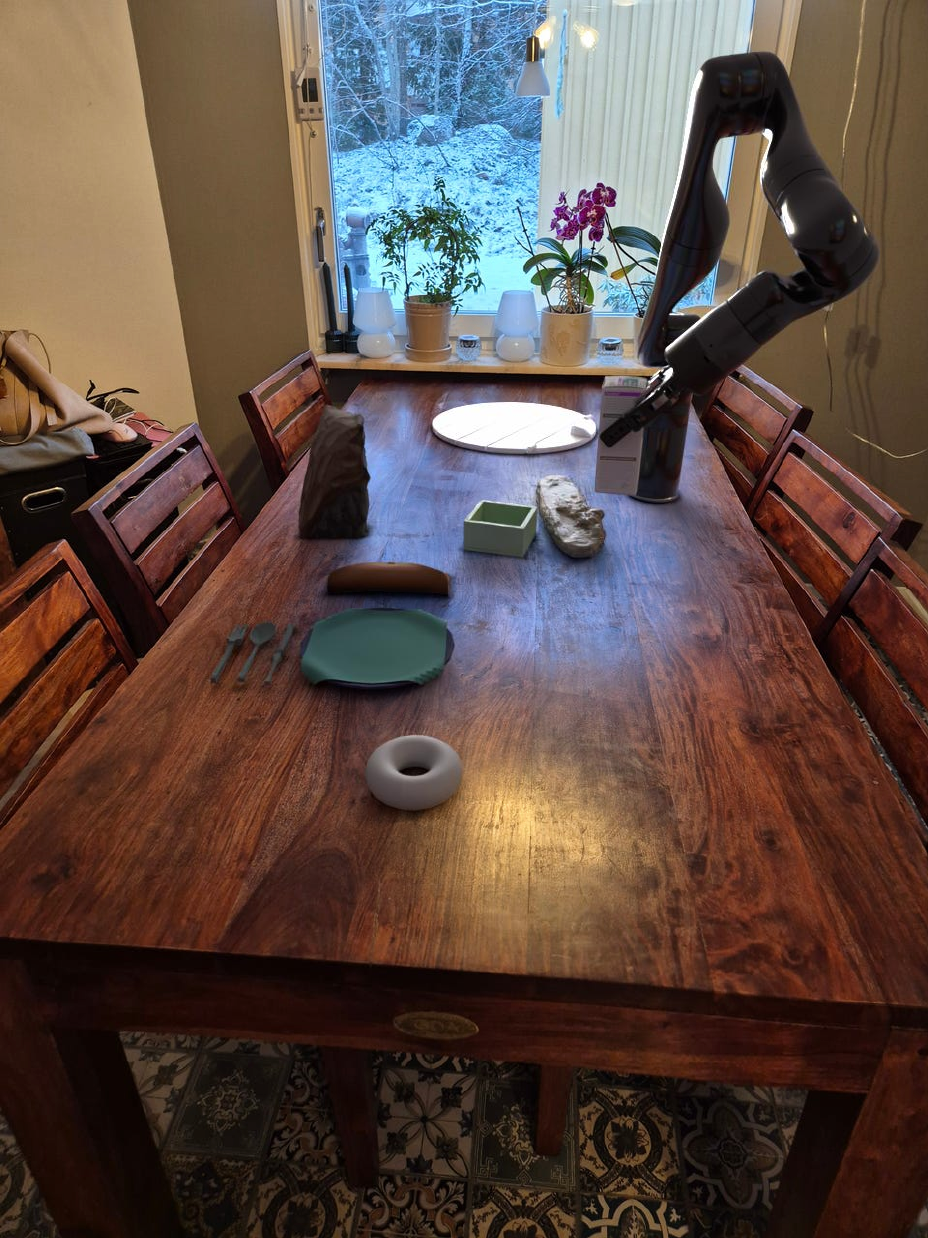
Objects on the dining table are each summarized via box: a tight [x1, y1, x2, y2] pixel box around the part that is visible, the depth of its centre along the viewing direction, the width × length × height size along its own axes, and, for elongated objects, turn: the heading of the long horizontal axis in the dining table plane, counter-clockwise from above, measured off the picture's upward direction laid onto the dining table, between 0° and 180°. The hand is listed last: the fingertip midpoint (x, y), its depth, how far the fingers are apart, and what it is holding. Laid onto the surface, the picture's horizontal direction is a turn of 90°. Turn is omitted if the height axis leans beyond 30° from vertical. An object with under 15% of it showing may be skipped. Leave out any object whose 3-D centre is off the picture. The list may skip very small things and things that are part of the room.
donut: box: [364, 734, 464, 811], centre depth 83 cm, size 10×4×10 cm
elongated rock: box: [535, 474, 607, 558], centre depth 145 cm, size 35×5×10 cm
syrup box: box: [594, 375, 648, 496], centre depth 109 cm, size 6×6×14 cm
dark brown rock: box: [297, 404, 372, 539], centre depth 138 cm, size 13×13×20 cm
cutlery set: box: [209, 606, 456, 690], centre depth 105 cm, size 20×30×2 cm, turn 89°
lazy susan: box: [432, 401, 597, 455], centre depth 195 cm, size 40×39×3 cm
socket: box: [462, 499, 538, 559], centre depth 137 cm, size 10×10×5 cm
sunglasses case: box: [326, 560, 451, 597], centre depth 122 cm, size 18×7×7 cm
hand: (608, 434), depth 109 cm, fingers closed on syrup box, 6 cm apart
